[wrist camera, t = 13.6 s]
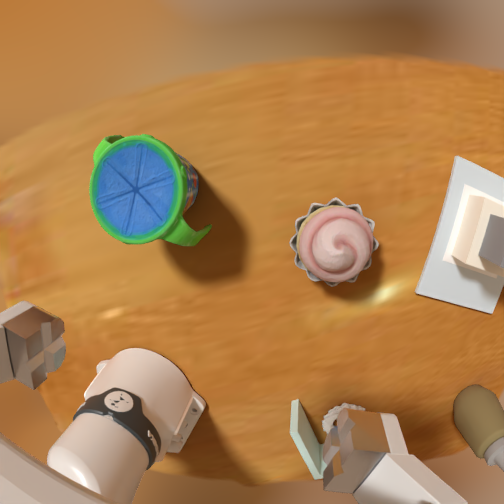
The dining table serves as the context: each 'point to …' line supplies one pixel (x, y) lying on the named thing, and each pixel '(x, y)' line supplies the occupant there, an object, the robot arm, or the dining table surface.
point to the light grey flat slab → (439, 258)
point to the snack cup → (143, 191)
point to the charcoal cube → (494, 241)
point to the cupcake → (333, 242)
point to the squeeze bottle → (481, 423)
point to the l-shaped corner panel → (313, 435)
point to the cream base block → (476, 233)
